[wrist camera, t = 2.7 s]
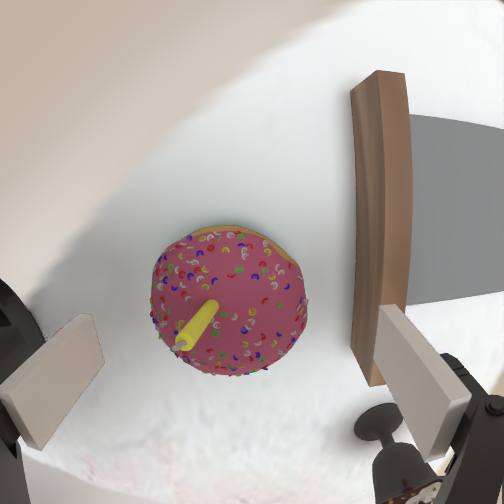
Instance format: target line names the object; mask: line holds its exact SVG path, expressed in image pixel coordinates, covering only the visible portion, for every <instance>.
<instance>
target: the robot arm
mask: <svg viewBox="0 0 504 504" xmlns="http://www.w3.org/2000/svg"><path fill="white" fill-rule="evenodd" d="M373 359H374V361H375V363H376V365H377V367H378V369H379V371H380V372H381V374H382V376H383V378H384V380H385V382H386V384H387V386H388V388H389V390H390V392H391V394H392V396H393V398H394V400H395V402H396V404H397V406H398V408H399V410H400V412H401V414H402V416H403V418H404V420H405V422H406V424H407V426H408V428H409V430H410V433H411V435H412V437H413V439H414V441H415V443H416V445H417V447H418V449H419V452H420V454H421V456H422V458H423V460H424V462H425V463H426V462H429V461H433V460H436V459H439V458H442V457H445V455H446V453H447V451H448V449H449V447H450V445H451V447H452V449H453V451H454V452H455V453H454V455H453V457H452V459H451V461H450V463H449V465H448V466H447V468H446V470H445V473H446V474H445V477H444V479H443V482H442V484H441V486H440V489H439V491H438V493H437V495H436V497H435V499H434V502H433V504H496V503H497V500H498V496H499V492H500V488H501V484H502V504H504V397H502V396H499V395H488V394H487V393H486V391H485V390H484V389H483V388H482V387H481V386H480V384H479V383H478V382H477V381H476V380H475V378H474V377H473V376H472V375H470V373H469V372H468V370H467V369H466V368H464V366H463V365H462V364H461V362H460V361H459V360H458V359H457V358H455V357H453V356H452V355H450V354H448V353H444V354H438V352H437V351H436V350H435V349H434V348H433V346H432V345H431V344H430V343H429V342H428V341H427V339H426V338H425V337H424V336H423V335H422V334H421V333H420V331H419V330H418V329H417V328H416V327H415V326H414V324H413V323H412V322H411V321H410V320H409V319H408V318H407V317H406V315H405V314H404V313H403V312H402V311H401V310H400V309H399V308H398V306H397V305H396V304H390V305H379V315H378V325H377V333H376V342H375V349H374V356H373ZM104 364H105V361H104V358H103V354H102V351H101V348H100V344H99V341H98V337H97V333H96V330H95V326H94V322H93V318H92V314H78V315H77V316H76V317H74V318H73V319H72V320H71V321H70V322H69V323H67V324H66V325H65V326H64V327H63V328H62V329H61V330H59V331H58V332H57V333H56V334H55V335H54V336H53V337H52V338H50V339H49V340H48V341H47V342H46V343H45V342H44V339H43V337H42V335H41V332H40V330H39V328H38V326H37V324H36V323H35V321H34V319H33V317H32V316H31V314H30V313H29V311H28V309H27V308H26V307H25V305H24V304H23V302H22V301H21V300H20V298H19V297H18V296H17V295H16V293H15V292H13V290H12V289H11V288H10V287H9V286H8V285H7V284H6V283H5V282H4V281H2V280H1V279H0V504H31V503H30V499H29V494H28V489H27V484H26V480H25V474H24V467H23V461H22V454H21V447H20V445H19V443H18V441H17V439H18V438H19V436H20V435H21V437H22V438H23V440H24V441H25V443H26V445H27V446H29V447H31V448H34V449H37V450H39V451H42V449H43V448H44V446H45V445H46V443H47V442H48V441H49V439H50V438H51V436H52V435H53V433H54V432H55V431H56V429H57V428H58V426H59V425H60V423H61V422H62V421H63V419H64V418H65V416H66V415H67V414H68V412H69V411H70V410H71V408H72V407H73V405H74V404H75V403H76V401H77V400H78V398H79V397H80V396H81V394H82V393H83V392H84V390H85V389H86V388H87V386H88V385H89V384H90V382H91V381H92V380H93V378H94V377H95V376H96V374H97V373H98V372H99V370H100V369H101V368H102V366H103V365H104Z"/></svg>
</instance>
